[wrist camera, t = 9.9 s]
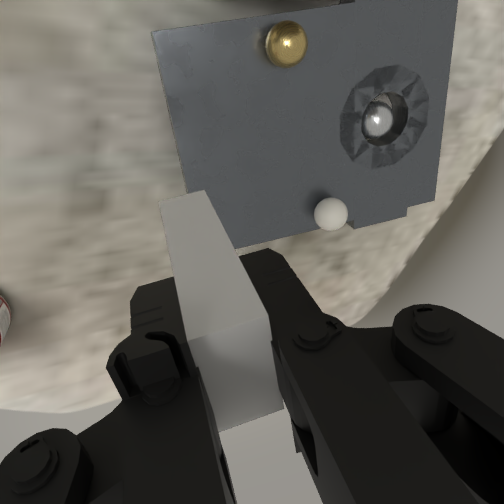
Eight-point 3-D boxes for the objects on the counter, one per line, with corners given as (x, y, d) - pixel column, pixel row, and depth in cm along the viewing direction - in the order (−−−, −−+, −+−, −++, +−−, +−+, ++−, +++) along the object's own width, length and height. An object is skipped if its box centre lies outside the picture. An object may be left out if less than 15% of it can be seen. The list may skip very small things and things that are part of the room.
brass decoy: (258, 24, 28) (270, 22, 25) (297, 18, 28) (313, 15, 26) (263, 70, 29) (275, 72, 27) (300, 63, 30) (315, 65, 27)
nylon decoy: (308, 196, 35) (321, 208, 33) (338, 189, 36) (354, 201, 33) (309, 226, 37) (322, 239, 34) (338, 219, 37) (353, 231, 35)
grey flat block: (200, 253, 38) (204, 266, 36) (147, 16, 28) (148, 14, 26) (418, 201, 42) (433, 209, 40) (439, -24, 32) (461, -29, 30)
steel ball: (362, 106, 32) (400, 101, 32) (352, 100, 35) (387, 96, 35) (361, 144, 34) (397, 140, 34) (351, 136, 37) (385, 132, 36)
